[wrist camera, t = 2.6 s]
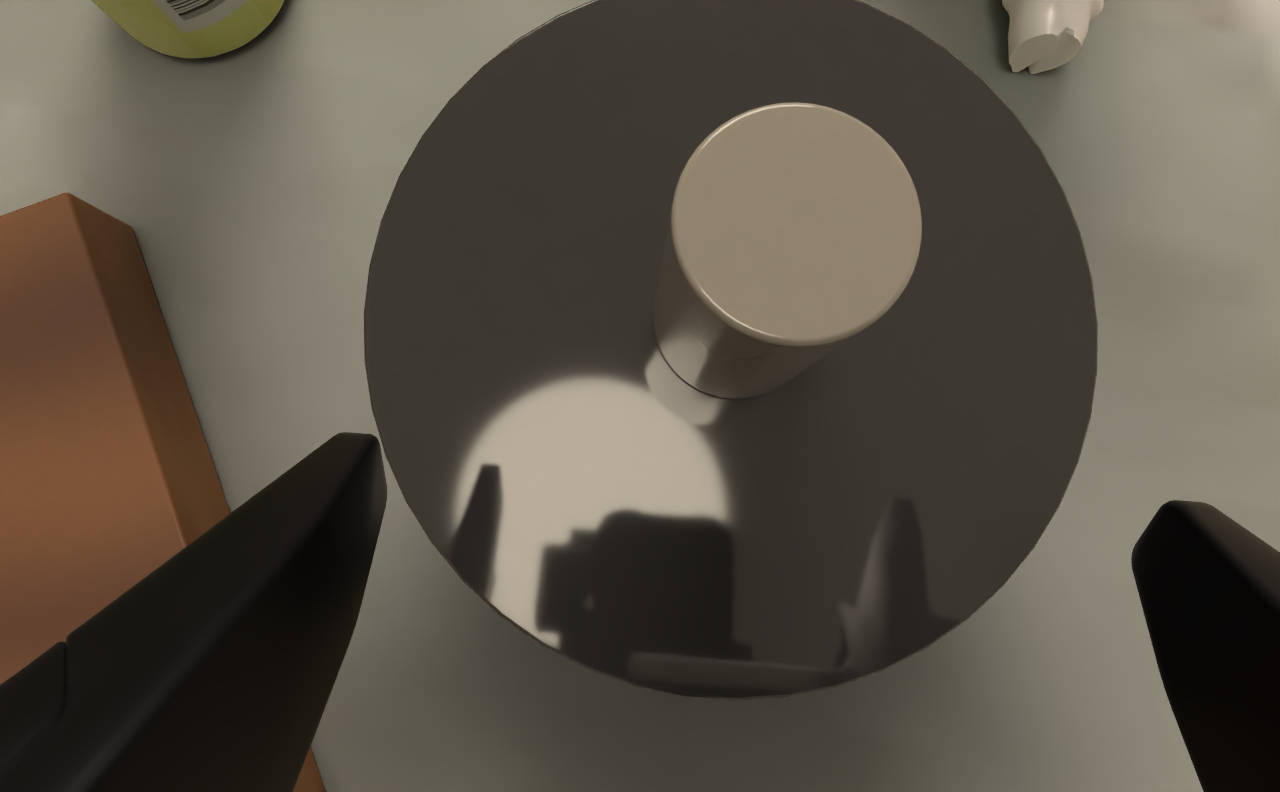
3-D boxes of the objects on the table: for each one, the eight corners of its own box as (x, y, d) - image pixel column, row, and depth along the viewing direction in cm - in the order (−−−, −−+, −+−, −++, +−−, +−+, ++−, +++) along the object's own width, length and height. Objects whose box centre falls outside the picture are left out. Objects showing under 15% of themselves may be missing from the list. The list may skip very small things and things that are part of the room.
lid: (1179, 522, 15) (1569, 541, 9) (529, 801, 14) (458, 1036, 8) (897, -78, 16) (1065, -424, 10) (285, 144, 15) (65, -86, 9)
